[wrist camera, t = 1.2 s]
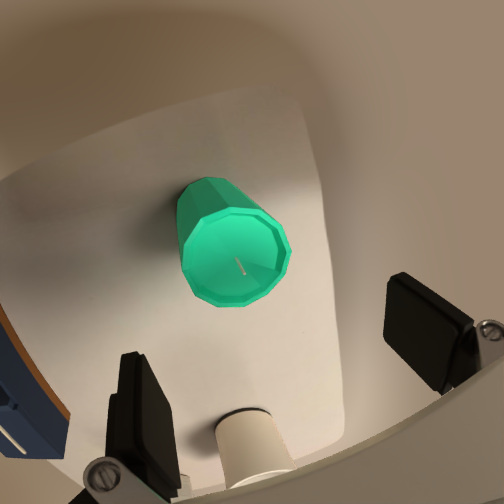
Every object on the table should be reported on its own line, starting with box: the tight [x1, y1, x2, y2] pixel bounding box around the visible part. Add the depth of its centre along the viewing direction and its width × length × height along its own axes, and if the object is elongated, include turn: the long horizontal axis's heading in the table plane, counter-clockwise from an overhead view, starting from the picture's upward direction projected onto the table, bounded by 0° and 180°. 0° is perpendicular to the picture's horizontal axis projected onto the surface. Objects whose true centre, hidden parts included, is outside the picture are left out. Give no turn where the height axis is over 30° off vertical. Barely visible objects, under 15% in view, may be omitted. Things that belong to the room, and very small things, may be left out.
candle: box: [176, 177, 292, 307], centre depth 21 cm, size 6×6×12 cm
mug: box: [215, 408, 297, 490], centre depth 33 cm, size 11×9×10 cm
